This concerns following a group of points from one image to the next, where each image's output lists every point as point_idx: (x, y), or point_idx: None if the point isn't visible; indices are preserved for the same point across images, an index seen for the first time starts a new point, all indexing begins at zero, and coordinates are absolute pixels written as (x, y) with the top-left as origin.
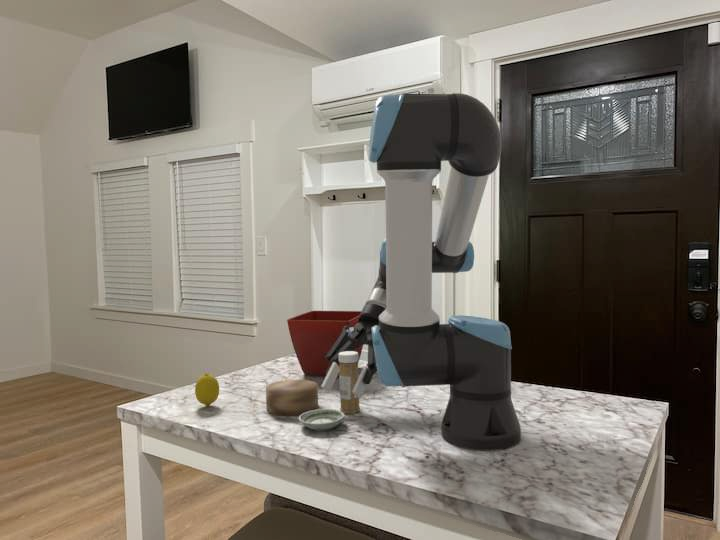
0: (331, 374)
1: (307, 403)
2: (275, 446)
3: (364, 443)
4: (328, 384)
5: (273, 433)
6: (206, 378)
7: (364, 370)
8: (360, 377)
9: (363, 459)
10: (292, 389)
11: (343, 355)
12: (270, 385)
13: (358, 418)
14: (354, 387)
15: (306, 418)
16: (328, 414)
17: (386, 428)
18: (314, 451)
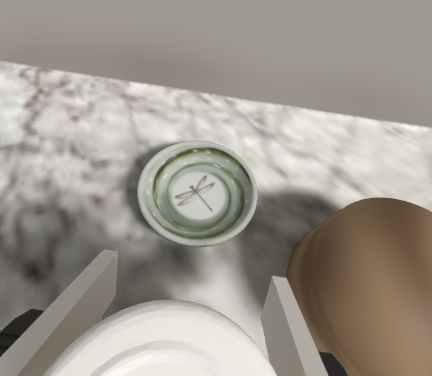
0: (290, 351)
1: (299, 260)
2: (222, 99)
3: (67, 147)
4: (272, 313)
5: (264, 137)
6: None
7: (4, 355)
8: (59, 306)
9: (55, 96)
10: (381, 252)
11: (171, 300)
12: None
13: (126, 289)
14: (105, 264)
15: (242, 193)
16: (205, 236)
17: (21, 242)
18: (150, 100)
